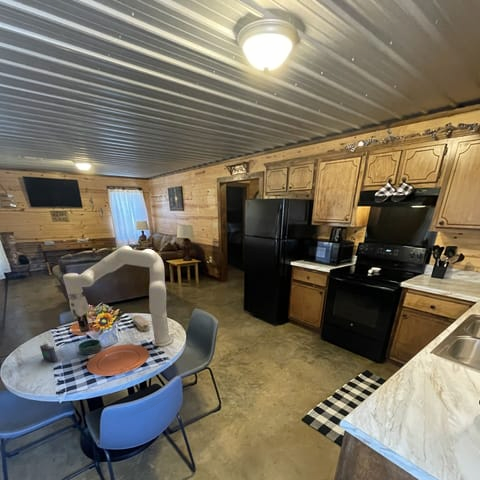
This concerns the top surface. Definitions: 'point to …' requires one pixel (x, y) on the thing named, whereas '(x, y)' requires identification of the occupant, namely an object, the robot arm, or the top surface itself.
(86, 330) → the brush
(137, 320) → the shoe brush
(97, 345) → the bowl
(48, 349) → the flask
